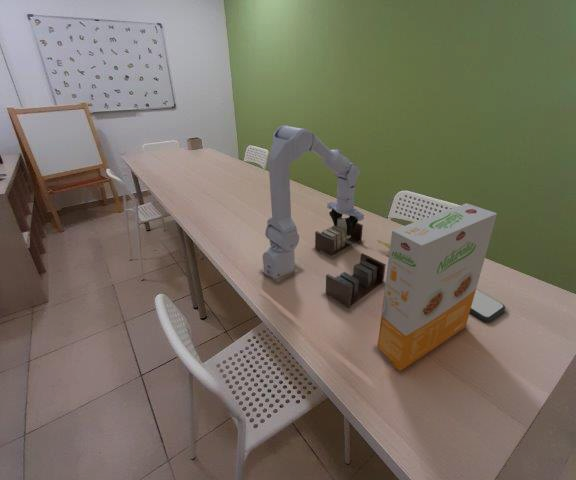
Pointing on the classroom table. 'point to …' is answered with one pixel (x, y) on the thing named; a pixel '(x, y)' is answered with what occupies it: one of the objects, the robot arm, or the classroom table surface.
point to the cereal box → (432, 280)
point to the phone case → (485, 307)
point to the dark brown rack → (336, 239)
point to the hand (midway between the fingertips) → (343, 232)
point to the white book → (342, 225)
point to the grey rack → (356, 281)
